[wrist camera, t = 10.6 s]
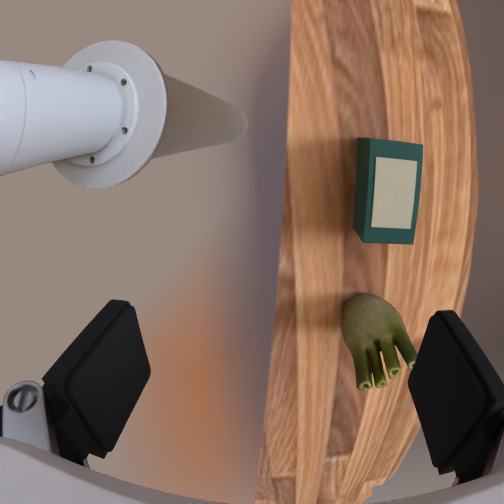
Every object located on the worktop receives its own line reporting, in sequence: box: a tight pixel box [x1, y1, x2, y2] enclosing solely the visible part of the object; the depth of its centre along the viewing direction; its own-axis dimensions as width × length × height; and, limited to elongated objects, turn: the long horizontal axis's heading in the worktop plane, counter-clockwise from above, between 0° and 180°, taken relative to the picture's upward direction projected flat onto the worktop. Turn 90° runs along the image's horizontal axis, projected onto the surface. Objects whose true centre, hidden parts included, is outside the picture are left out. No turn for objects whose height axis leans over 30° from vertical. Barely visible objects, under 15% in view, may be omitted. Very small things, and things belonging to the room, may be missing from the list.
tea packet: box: [353, 138, 423, 244], centre depth 26 cm, size 9×5×5 cm, turn 1°
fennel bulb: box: [341, 293, 418, 391], centre depth 27 cm, size 6×5×12 cm
